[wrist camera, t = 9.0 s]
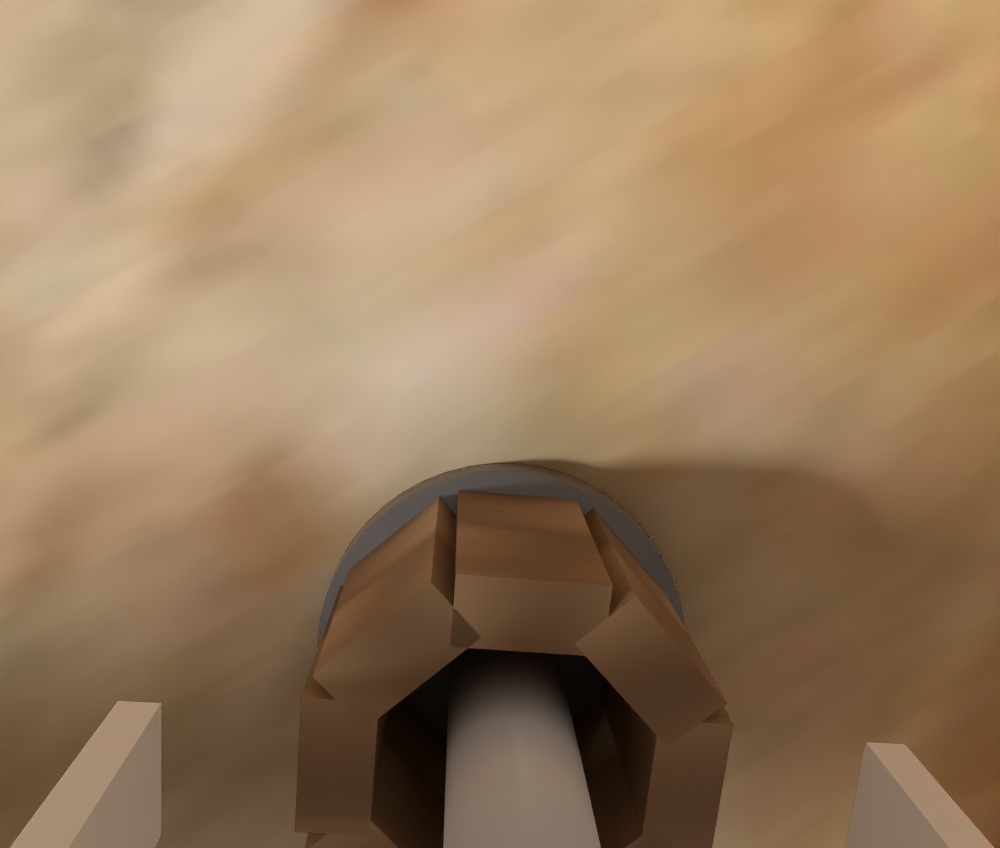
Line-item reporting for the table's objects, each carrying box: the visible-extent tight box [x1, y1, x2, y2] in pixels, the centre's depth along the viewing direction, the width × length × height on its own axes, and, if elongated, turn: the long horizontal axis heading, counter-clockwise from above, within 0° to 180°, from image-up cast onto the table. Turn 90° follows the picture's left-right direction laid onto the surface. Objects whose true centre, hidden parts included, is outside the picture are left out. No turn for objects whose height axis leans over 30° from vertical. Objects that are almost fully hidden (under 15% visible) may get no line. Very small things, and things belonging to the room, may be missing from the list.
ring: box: [295, 490, 733, 848], centre depth 18 cm, size 8×8×5 cm
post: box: [318, 464, 684, 848], centre depth 17 cm, size 9×9×10 cm
